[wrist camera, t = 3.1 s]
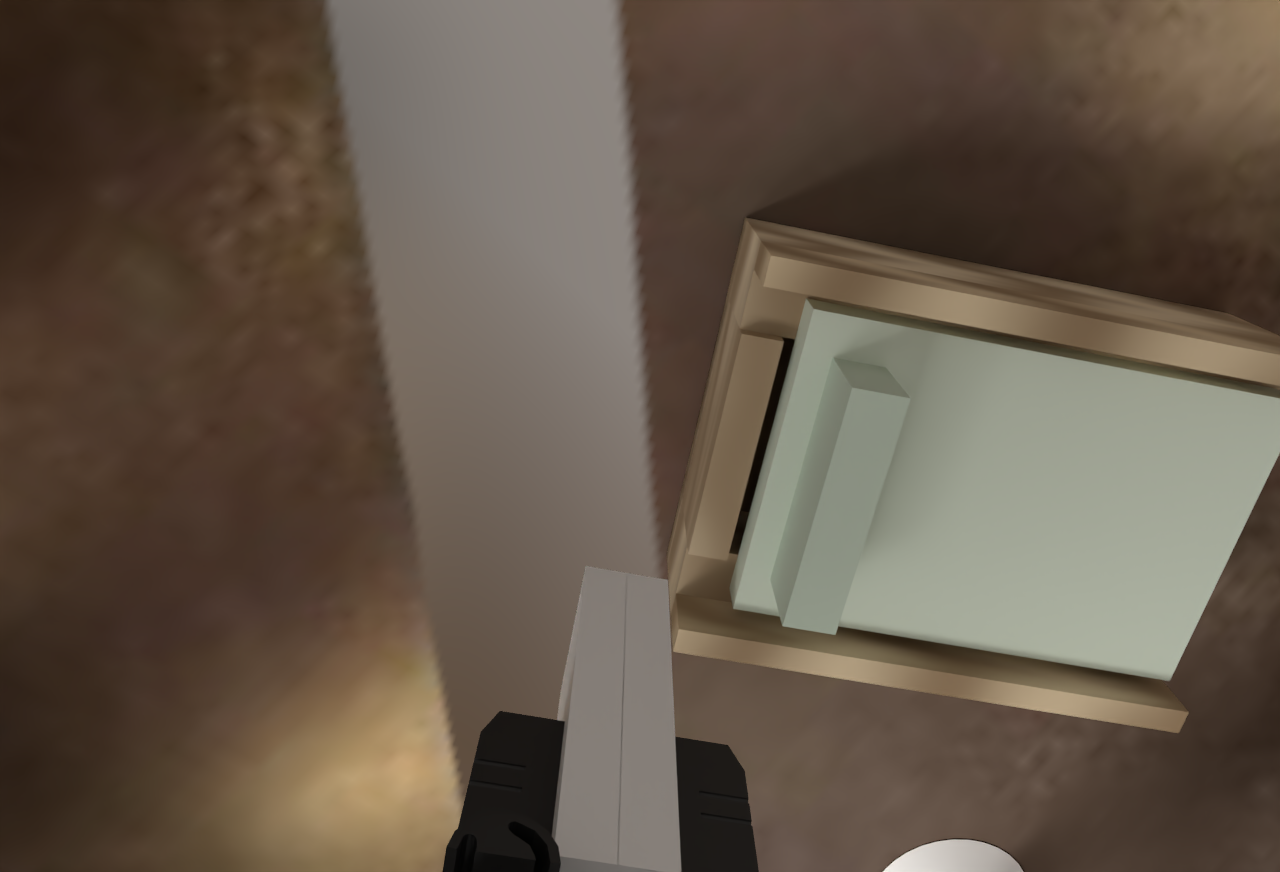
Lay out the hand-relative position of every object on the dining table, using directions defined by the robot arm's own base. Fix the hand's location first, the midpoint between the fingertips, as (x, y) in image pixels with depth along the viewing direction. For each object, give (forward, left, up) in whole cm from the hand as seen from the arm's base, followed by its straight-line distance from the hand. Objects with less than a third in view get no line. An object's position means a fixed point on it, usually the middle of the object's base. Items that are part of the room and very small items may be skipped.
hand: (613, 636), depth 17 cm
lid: (+11, 0, -11) cm, 16 cm away
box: (+11, 0, -15) cm, 19 cm away
